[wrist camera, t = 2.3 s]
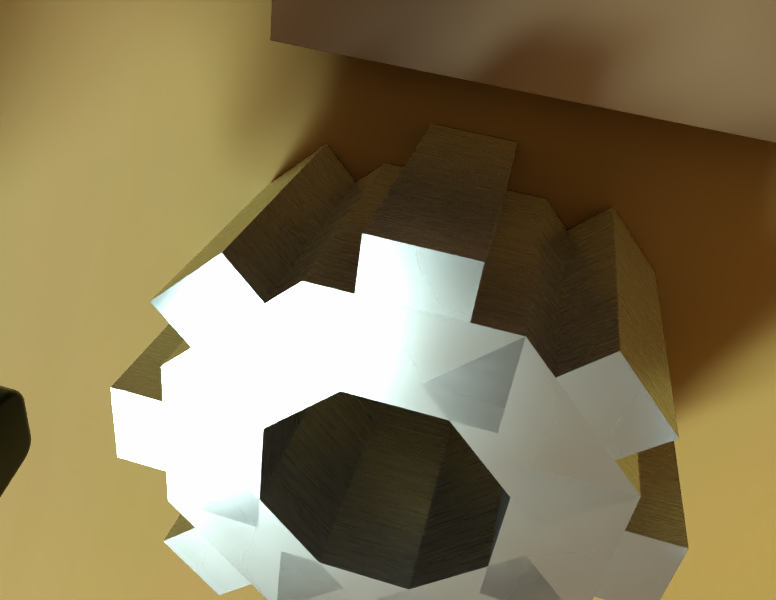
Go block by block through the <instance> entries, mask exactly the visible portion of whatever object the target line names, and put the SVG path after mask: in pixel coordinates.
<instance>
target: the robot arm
mask: <svg viewBox="0 0 776 600" xmlns="http://www.w3.org/2000/svg"><path fill="white" fill-rule="evenodd" d="M30 444H31V434H30V429H29V424H28V418H27V413H26V407H25V402H24V398H23V396H22V395H21V394H20V392H18V391H16V390H14V389H10V388H7V387H3V386H0V497H1V495H2V494H3V492H4V491H5V489H6V487H7V486H8V484H9V483H10V481H11V480H12V478H13V477H14V475H15V473H16V472H17V470H18V469H19V467H20V466H21V464H22V462H23V461H24V459H25V458H26V456H27V453H28V451H29V448H30Z"/></svg>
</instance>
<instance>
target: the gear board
mask: <svg viewBox="0 0 776 600" xmlns="http://www.w3.org/2000/svg"><path fill="white" fill-rule="evenodd" d="M270 40H271V41H276V42H281V43H286V44H291V45H296V46H301V47H306V48H311V49H316V50H321V51H326V52H331V53H336V54H341V55H345V56H350V57H355V58H360V59H365V60H370V61H375V62H380V63H385V64H390V65H395V66H400V67H405V68H410V69H415V70H420V71H425V72H429V73H434V74H439V75H444V76H449V77H454V78H459V79H464V80H469V81H474V82H479V83H484V84H489V85H494V86H499V87H504V88H508V89H513V90H518V91H523V92H528V93H533V94H538V95H543V96H548V97H553V98H558V99H563V100H568V101H573V102H578V103H583V104H588V105H592V106H597V107H602V108H607V109H612V110H617V111H622V112H627V113H632V114H637V115H642V116H647V117H652V118H657V119H662V120H667V121H671V122H676V123H681V124H686V125H691V126H696V127H701V128H706V129H711V130H716V131H721V132H726V133H731V134H736V135H741V136H746V137H751V138H755V139H760V140H765V141H770V142H775V143H776V0H272V14H271V38H270Z"/></svg>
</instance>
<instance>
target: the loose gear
mask: <svg viewBox="0 0 776 600" xmlns="http://www.w3.org/2000/svg"><path fill="white" fill-rule="evenodd" d="M517 144H518V142H514V141H509V140H505V139H500V138H495V137H490V136H486V135H481V134H476V133H472V132H467V131H462V130H457V129H453V128H448V127H443V126H439V125H434V124H431V125H430V127H429V128H428V130H427V131H426V133H425V134H424V136H423V138H422V139H421V141H420V142H419V144H418V146H417V147H416V149H415V150H414V152H413V154H412V155H411V157H410V158H409V160H408V162H407V163H406V165H405V166H404V167H401V166H396V165H391V164H387V163H384V164H383V165H381V166H380V167H378V168H377V169H375V170H374V171H372V172H371V173H369V174H368V175H366V176H365V177H363V178H362V179H360V180H359V181H357V182H355V181H354V180H353V178H352V177H351V176H350V174H349V173H348V172H347V170H346V169H345V168H344V166H343V165H342V164H341V162H340V161H339V160H338V158H337V157H336V156H335V154H334V153H333V152H332V150H331V149H330V148H329V146H328V145H327V144H325V145H323V146H322V147H321V148H319V149H318V150H316V151H315V152H314V153H312V154H311V155H309V156H308V157H307V158H305V159H304V160H302V161H301V162H300V163H298V164H297V165H295V166H294V167H293V168H291V169H290V170H288V171H287V172H286V173H284V174H283V175H281V176H280V177H279V178H277V179H276V180H274V181H273V182H272V183H270V184H269V185H268V186H267V187H266V188H265V189H264V190H263V191H262V192H261V193H259V194H258V195H257V196H256V197H255V198H254V199H253V200H252V201H251V202H250V203H249V204H248V205H247V206H246V207H245V208H244V209H243V210H242V211H241V212H240V213H239V214H238V215H237V216H236V217H235V218H234V219H233V220H232V221H231V222H230V223H229V224H228V225H227V226H226V227H225V228H224V229H223V230H222V231H221V232H220V233H219V234H218V235H217V236H216V237H215V238H214V239H213V240H212V241H211V242H210V243H209V244H208V245H207V246H206V247H205V248H204V249H203V250H202V251H201V252H200V253H199V254H198V255H197V256H196V257H195V258H194V259H193V260H191V261H190V262H189V263H188V264H187V265H186V266H185V267H184V268H183V269H182V270H181V271H180V272H179V273H178V274H177V275H176V276H175V277H174V278H173V279H172V280H171V281H170V282H169V283H168V284H167V285H166V286H165V287H164V288H163V289H162V290H161V291H160V292H159V293H158V294H157V295H156V296H155V297H154V298H153V299H152V300H151V301H150V302H151V303H152V304H153V305H154V306H155V308H156V309H157V310H158V311H159V312H160V313H161V314H162V315H163V316H164V318H165V319H166V320H167V321H168V322H169V323H170V324H169V325H168V326H167V327H166V328H165V329H164V330H163V331H162V332H161V333H160V335H159V336H158V337H157V338H156V339H155V340H154V341H153V342H152V343H151V344H150V345H149V346H148V348H147V349H146V350H145V351H144V352H143V353H142V354H141V355H140V356H139V357H138V358H137V359H136V361H135V362H134V363H133V364H132V365H131V366H130V367H129V368H128V369H127V370H126V371H125V372H124V374H123V375H122V376H121V377H120V378H119V379H118V380H117V381H116V382H115V383H114V384H113V385H112V387H111V396H112V406H113V416H114V426H115V436H116V446H117V456H118V457H119V458H123V459H126V460H130V461H133V462H137V463H140V464H143V465H147V466H150V467H154V468H157V469H161V470H164V471H166V474H167V494H168V501H169V502H170V503H171V504H172V505H173V506H174V507H175V508H176V509H177V510H178V511H179V512H180V513H181V514H180V516H179V518H178V519H177V521H176V522H175V524H174V525H173V527H172V529H171V530H170V532H169V533H168V535H167V536H166V538H165V540H164V542H165V543H166V544H167V545H168V546H169V547H170V548H171V549H172V550H173V551H174V552H175V553H176V554H177V555H178V556H179V557H180V558H181V559H182V560H183V561H184V562H185V563H186V564H187V565H189V566H190V567H191V568H192V569H193V570H194V571H195V572H196V573H197V574H198V575H199V576H200V577H201V578H202V579H203V580H204V581H205V582H206V583H207V584H208V585H209V586H210V587H211V588H212V589H213V590H214V591H215V592H216V593H217V594H218V595H221V594H224V593H227V592H229V591H232V590H235V589H238V588H241V587H244V586H247V585H250V584H252V585H253V586H254V587H255V588H256V589H257V590H258V591H259V592H260V593H261V594H262V595H263V596H264V597H265V598H266V599H267V600H593V598H594V596H595V597H599V598H602V599H605V600H660V599H661V597H662V596H663V594H664V592H665V590H666V588H667V587H668V585H669V583H670V581H671V579H672V578H673V576H674V574H675V572H676V570H677V568H678V567H679V565H680V563H681V561H682V559H683V558H684V556H685V554H686V552H687V550H688V541H687V534H686V526H685V519H684V511H683V504H682V497H681V489H680V482H679V474H678V467H677V460H676V452H675V445H674V440H676V439H679V435H678V428H677V421H676V414H675V407H674V401H673V394H672V387H671V380H670V373H669V366H668V359H667V352H666V345H665V338H664V331H663V324H662V317H661V310H660V303H659V296H658V290H657V283H656V276H655V273H654V271H653V270H652V268H651V266H650V265H649V263H648V262H647V260H646V259H645V257H644V255H643V254H642V252H641V251H640V249H639V247H638V246H637V244H636V243H635V241H634V239H633V238H632V236H631V235H630V233H629V231H628V230H627V228H626V227H625V225H624V223H623V222H622V220H621V219H620V217H619V216H618V214H617V212H616V211H615V209H614V208H613V207H611V208H609V209H607V210H605V211H603V212H601V213H600V214H598V215H596V216H594V217H592V218H590V219H588V220H586V221H584V222H582V223H580V224H578V225H577V226H575V227H573V228H571V229H569V230H566V228H565V227H564V225H563V224H562V222H561V221H560V219H559V217H558V216H557V214H556V213H555V211H554V210H553V208H552V207H551V205H550V204H549V202H548V201H547V199H545V198H541V197H536V196H531V195H527V194H522V193H518V192H513V191H509V190H507V185H508V181H509V177H510V173H511V169H512V165H513V160H514V156H515V152H516V148H517Z"/></svg>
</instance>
